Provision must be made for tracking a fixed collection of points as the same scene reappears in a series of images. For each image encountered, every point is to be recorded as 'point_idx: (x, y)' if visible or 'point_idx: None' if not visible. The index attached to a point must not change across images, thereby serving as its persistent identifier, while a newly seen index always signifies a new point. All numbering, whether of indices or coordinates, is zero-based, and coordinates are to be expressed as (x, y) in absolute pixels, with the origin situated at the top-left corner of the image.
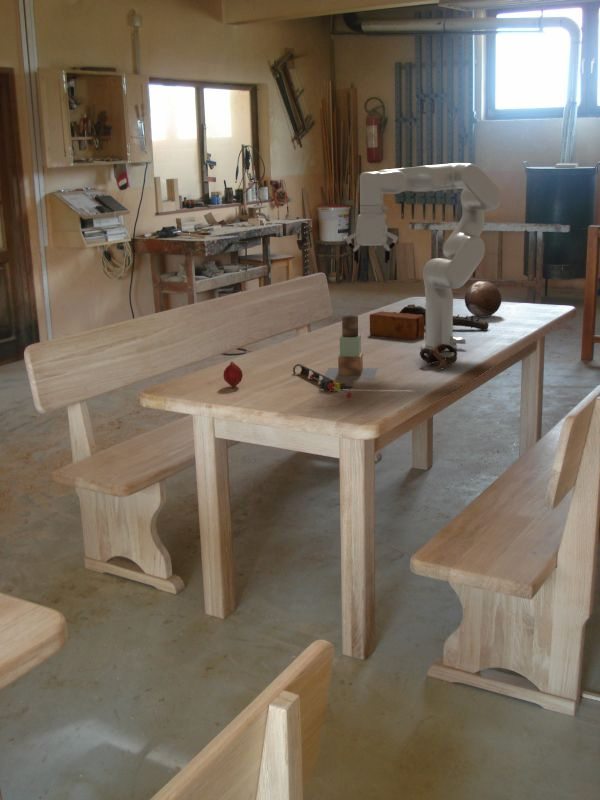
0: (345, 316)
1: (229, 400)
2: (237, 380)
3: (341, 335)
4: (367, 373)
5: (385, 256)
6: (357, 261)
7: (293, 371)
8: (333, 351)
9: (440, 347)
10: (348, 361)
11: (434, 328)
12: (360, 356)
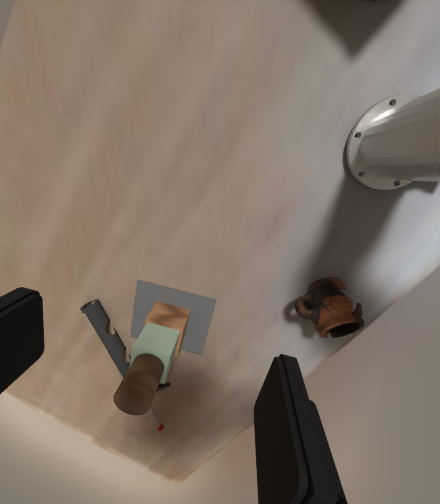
0: (121, 394)
1: (33, 392)
2: None
3: (131, 359)
4: (195, 327)
5: (260, 471)
6: (26, 365)
7: (84, 306)
8: (146, 129)
9: (339, 314)
10: None
11: (400, 174)
12: (177, 355)
